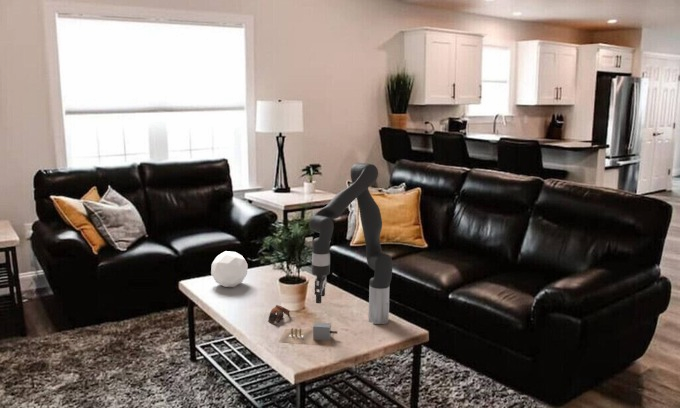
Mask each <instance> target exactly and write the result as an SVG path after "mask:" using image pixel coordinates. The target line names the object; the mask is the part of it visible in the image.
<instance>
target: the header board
mask: <svg viewBox="0 0 680 408" xmlns="http://www.w3.org/2000/svg"><path fill="white" fill-rule="evenodd" d="M334 336H335V334H334V333H331V338H330V341H324V340H313V329H312V330H311V329H309V330H308V329H302V328H299V329H298V328H297V327H296V328H292V327H291V328H284V331H283V333H282V334H281V337H280V338H279V340H278V343H279V344H295V345H307V346H308V345H309V346H310V345H311V346H324V347H325V346H326V347H331V345H332V341H333V339H334Z"/></svg>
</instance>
